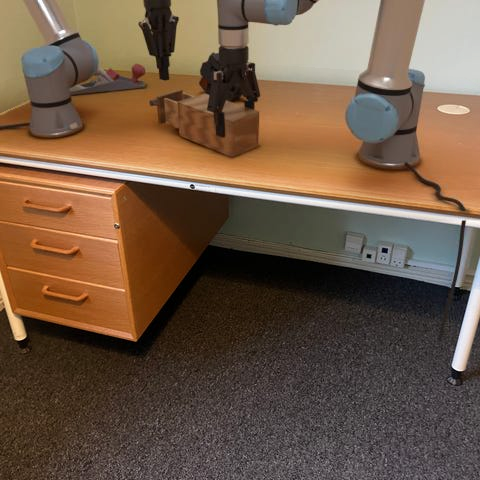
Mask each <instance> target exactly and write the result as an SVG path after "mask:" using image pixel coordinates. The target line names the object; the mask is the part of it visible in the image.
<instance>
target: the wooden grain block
mask: <svg viewBox="0 0 480 480" xmlns="http://www.w3.org/2000/svg"><path fill="white" fill-rule="evenodd" d="M209 95H210V94H206V92H204V93H200V94H198V95H193V96H194V97H191V98H188V99H185V100H182V101H178V102H177V103H178V122H179V128H178V136H179V137H182V138H184V139H187V140H189V141H190V142H194V143H197V144H198V145H201V146H203V147H206V148H208V149H211V150H213V151H216V152H218V153H221V154H222V155H225V156H228V157H230V158H235V157H238V156H239V155H242V154H244V153H246V152H248V151H250V150H253V149H255V148H258V147H259V140H260V139H259V136H260V135H259V134H260V111H259V110H256V109H255V110H253V109H250V108H247V107H244V105H242V104H238V103H236V102H232V101H228V100H226V102H225V104H224V107H223V110H222V112H224V116H225V137H220V136H217V135H216V125H215V124H214V113H213V112H210V111H208V110H207V106H208V100H209ZM218 108H219V107H218Z"/></svg>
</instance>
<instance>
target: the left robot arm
mask: <svg viewBox="0 0 480 480" xmlns="http://www.w3.org/2000/svg"><path fill="white" fill-rule="evenodd" d="M22 1H23V3H24V5H25V7H26V9H27V10H28V12H29V15H30V16H31V18H32V19H33V21H34V24H35V25H36V28H37V29H38V30H39V33H40V34H41V36H42V38H43V40H44V43H43V45H41V46H38V47H34V48H30V49H29V50H27V51H25V52H24V53H23V54H22V56H21V59H20V60H21V61H20V62H21V67H22V68H21V70H22V74H23V78H24V81H25V86H26V89H27V93H28V97H29V102H30V106H31V110H30V120H29V122H21V123H15V124H6V125H0V130H4V129H13V128H21V127H29V130H30V134H31V135H32V136H34V137H36V138H40V139H59V138H64V137H69V136H71V135H74V134H75V135H76V134H77V133H79V132H80V131H81V130H83V128H84V125H83V120H82V118H81V117H80V115H79V112H78V111H77V109H76V107H75V105H74V103H73V99H72V95H71V94H70V88H71V87H73V86H75V85H77V84H78V85H81V84H83V83H85V82H88V80H90V79H91V78H92V77H95V73H96V71H97V69H98V66H99V62H100V60H99V55H98V52H97V50H96V48H95V47H94V46H93V44H92V43H90V42H88V41H87V40H84V39H83V38H82V37H81V35H80V33H79V32H78V31H77V30H75V29H74V28H73V29H72V28H71V26H70V24H69V23H68V21H67V19H66V17H65V15H64V13H63V12H62V9H61V7H60V5H59V4H58V1H57V0H22ZM142 3H143V7H144V9H145V13H144V18H143V20H142V21H138V27H139V28H140V30H141V31H142V35H143V38H144V41H145V44H146V48H147V51H148V55H149V56H151V57H155V63H156V64H155V65H156V69H158V77H159V80H162V81H165V82H167V81H170V70H169V68H170V67H171V63H170V57H172V56H173V55H172V54H173V53H175V48H176V37H177V28H178V27H177V26H178V23H179V20H180V17H179V16H176V15H174V14H173V12H172V9H171V7H172V0H142Z"/></svg>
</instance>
